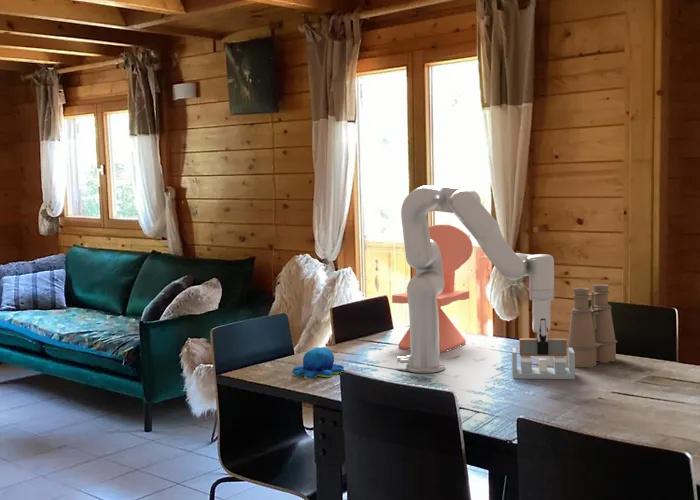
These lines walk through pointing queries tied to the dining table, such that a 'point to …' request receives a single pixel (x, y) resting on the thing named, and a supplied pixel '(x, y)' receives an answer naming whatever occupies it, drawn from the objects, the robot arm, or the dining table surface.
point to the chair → (445, 283)
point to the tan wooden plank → (554, 347)
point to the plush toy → (318, 364)
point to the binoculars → (591, 327)
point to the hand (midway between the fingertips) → (542, 352)
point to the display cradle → (544, 367)
